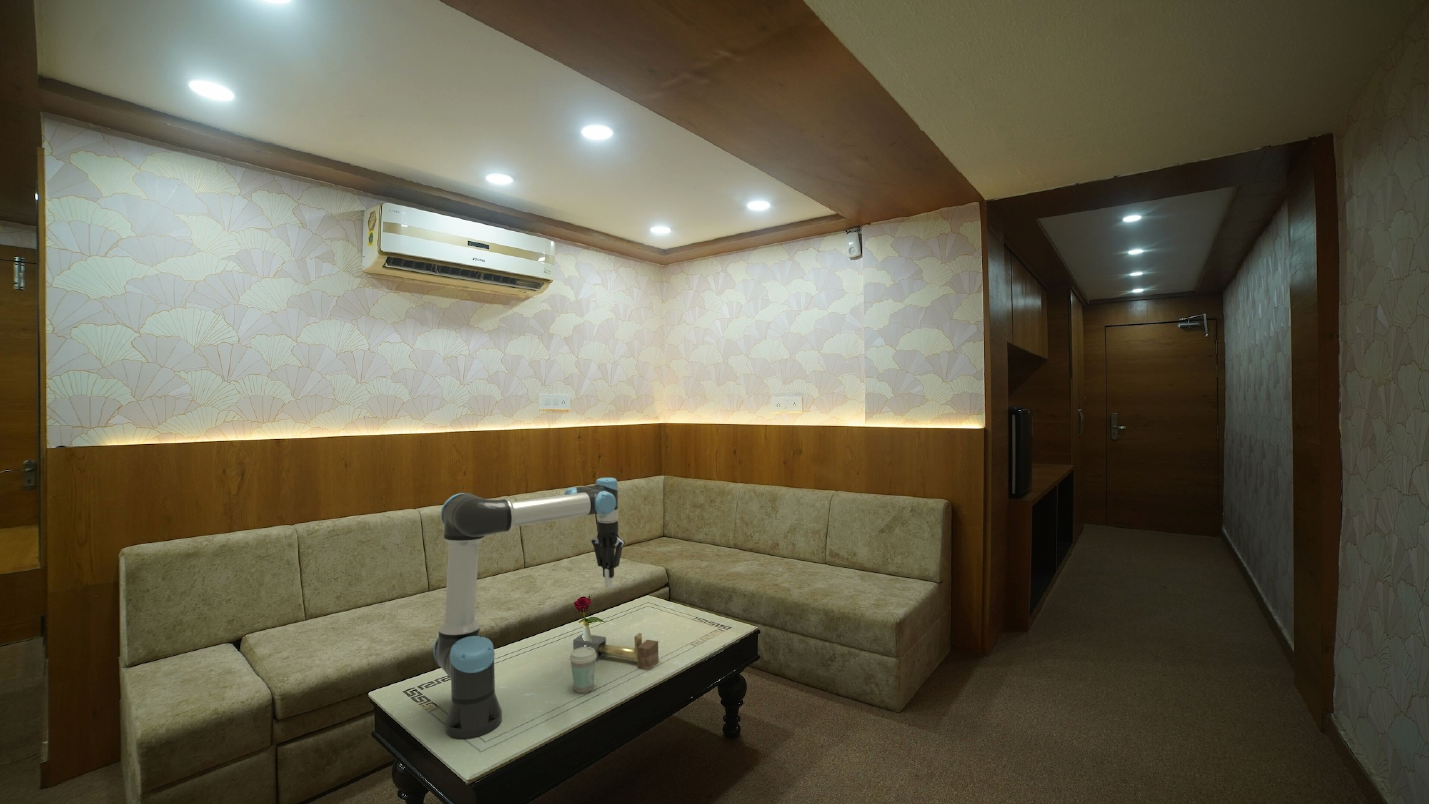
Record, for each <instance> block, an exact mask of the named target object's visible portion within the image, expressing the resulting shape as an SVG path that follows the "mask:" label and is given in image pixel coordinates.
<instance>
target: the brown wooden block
mask: <svg viewBox="0 0 1429 804" xmlns="http://www.w3.org/2000/svg"><path fill="white" fill-rule="evenodd" d="M637 658H638V662H637V669H640V670H647V671H650V670H651V669H653V667H654V666H656V664H658V662H659V640H652V639H646V640H644V641H642V644H641V645H640V646H638V647H637Z"/></svg>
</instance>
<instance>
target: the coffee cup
mask: <svg viewBox="0 0 1429 804" xmlns="http://www.w3.org/2000/svg"><path fill="white" fill-rule="evenodd" d="M596 657H597V655H596V652H595V650H594V649H593V648H591V647H581V648H577V649H575V650H572V651H571V653H570V655H569V662H570V666H571V673H572V681H573V687H574V691H575V693H578V694H586V693H590V692H591V691H593V689H594V682H595V672H596V671H595V670H596V662H597V661H596Z"/></svg>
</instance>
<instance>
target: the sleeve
mask: <svg viewBox="0 0 1429 804" xmlns="http://www.w3.org/2000/svg"><path fill="white" fill-rule="evenodd" d="M583 634H584V633H581V634H580V635H578V636H577V637H575V638H574V639H573V640H572V641H573V642H572V645H573V648H572V649H573V650H575V649H577V648H581V647H584V645H587V646H586V647H590V646H591V648H593V649H594V650H595V652H596V655H597V657H596V661H595V662H598V661H599V660H601V658H603V657H604V656H605V655H603V654H598V645H600V644H605V645H607V637H606V636H599V635H596V634H595V635H593V634H590V635H591V639H592V642H590V641H584V640H583V638H582V635H583ZM573 650H572V651H573Z"/></svg>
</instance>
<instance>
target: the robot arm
mask: <svg viewBox="0 0 1429 804" xmlns="http://www.w3.org/2000/svg"><path fill="white" fill-rule="evenodd" d="M618 485H619V484H618V480H617V478H615V477H600V478H598V479H596V483H595V484H593V485H586V486H585V485H584V486H574V487H569V488H567V489H566V490H565V492H564V494H563V495H561V494H560V495H554V496H546V497H539V498H531V499H523V500H515V501H510V500H508V499H507V498H505V499H504V498H503V499H489V498H488V499H487V498H483V497H480V496H477V495H475V494H473V493H466V492H462V493H461V492H459V493H457V494H454V495H451V496H450V497H449V498H448V499H447V500H445V502H444V503H443V505H442V507H441V510H440V517H441V521H442V523H443V525H444V527H443V528H444V529H443V540H444V541H445V542H446V543H447V544H448V550H447V551H448V554H447V555H448V557H447V573H446V574H447V575H446V576H447V577H446V587H445V589H446V591H445V592H446V593H445V608H444V609H445V611H444V623H443V624H442V625H441V626H439V628H438V635H437V636H438V637H436V640H435V641H434V644H433V648H432V649H433V657H434V660H435V662H436V664H437V665H438V666H439V668H441V669H442V671H444V672H445V674H446V675H447V676H448V677H449V678H450V685H451V686H450V687H451V692H450V693H451V702H450V705H449V709H448V713H447V716H446V719H445V733H446V734H447V735H448V736H449V737H451V738H454V739H473V738H477V737H480V736H483V735H486V734H487V733H490V732H492V731H494V730H495V729H497V727H499V725H500V724H501V722H502V720H503V710H502V707H501V705H500V702H499V700H498V697H497V695H496V680H495V678H496V675H495V655H496V653H495V649H494V644H493V641H491V639H489V638H488V637H485V636H480V630H481V626H480V624H479V622H477V621H476V609H477V608H476V604H477V587H478V567H479V545H480V542H482V541H483V540H484V538H485V536H489V535H494V534H495V535H496V534H500V533H506V532H509V531H511V529H512V528H514V527H515V528H516V527H521V526H528V525H534V524H538V523H539V524H541V523H546V522H553V521H559V520H566V519H571V518H577V517H584V516H592V515H596V520H597V522H596V531H597V535H596V537H595V538H593V539H591V540H590V542H591V545H592V546H593V549H594V553H595V558H596V563H597V567H600V568H602V577H603V578H604V588H611V587H612V586H613V579H614V577H615V568H617V567H619V566H620V561H621V556H622V552H623V547H624V545H625V544H626V541H625V540H621V539H620V536H619V533H618V532H619V521H618V519H619V499H618V498H619V487H618Z"/></svg>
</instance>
